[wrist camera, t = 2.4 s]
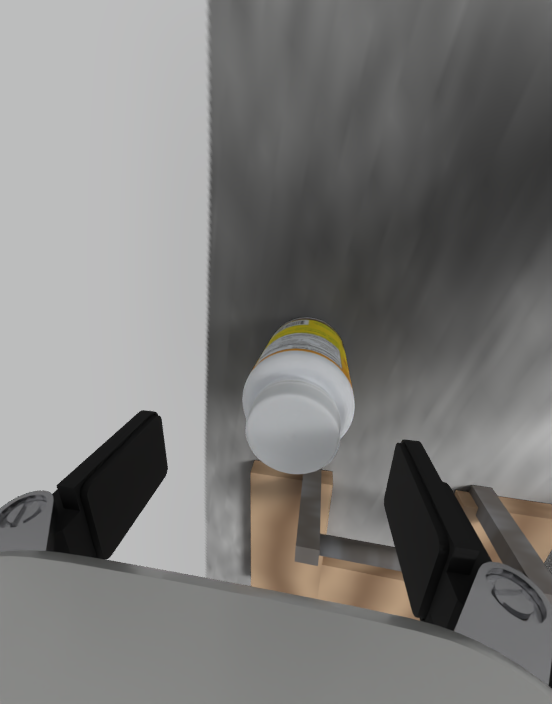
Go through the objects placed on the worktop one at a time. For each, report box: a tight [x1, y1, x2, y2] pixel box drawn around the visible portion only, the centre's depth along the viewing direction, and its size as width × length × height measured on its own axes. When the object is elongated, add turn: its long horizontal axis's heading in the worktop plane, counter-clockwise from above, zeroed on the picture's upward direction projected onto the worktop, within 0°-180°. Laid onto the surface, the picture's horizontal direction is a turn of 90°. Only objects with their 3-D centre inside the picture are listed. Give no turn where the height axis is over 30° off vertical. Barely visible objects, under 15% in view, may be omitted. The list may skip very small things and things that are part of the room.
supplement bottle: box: [242, 318, 355, 474], centre depth 16 cm, size 6×6×10 cm
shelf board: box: [251, 460, 552, 621], centre depth 23 cm, size 24×17×8 cm
